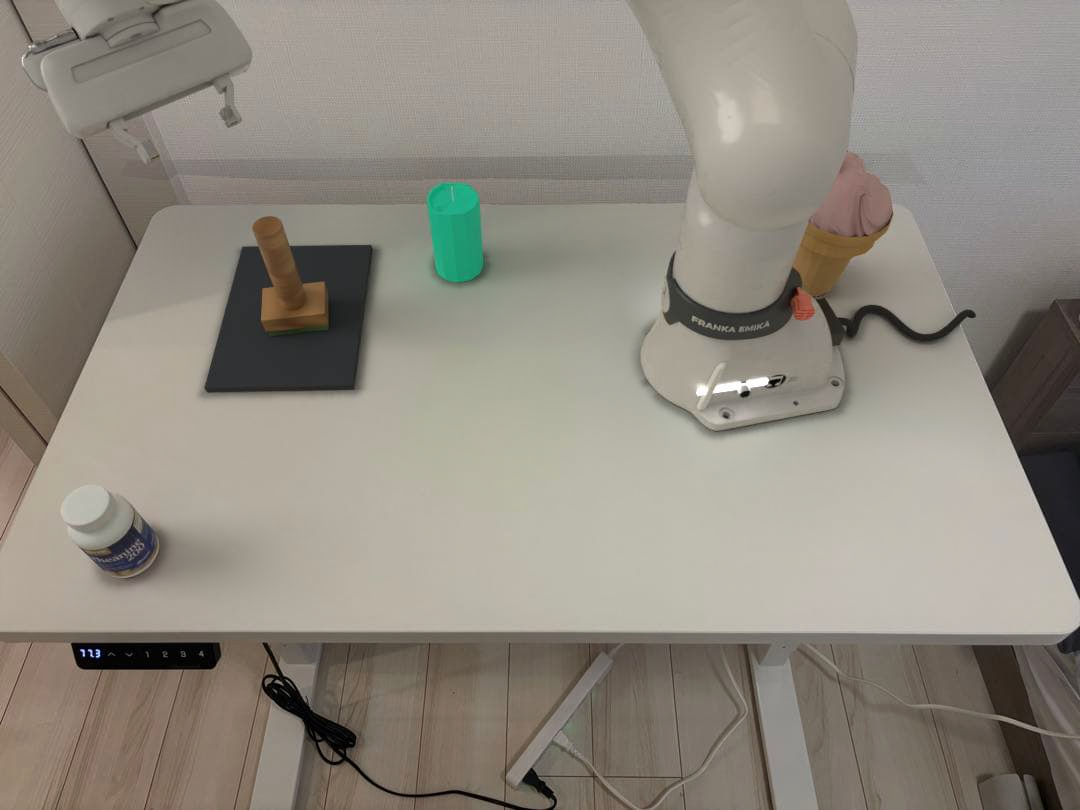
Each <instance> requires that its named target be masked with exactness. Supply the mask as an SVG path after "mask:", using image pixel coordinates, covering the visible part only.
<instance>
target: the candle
mask: <svg viewBox="0 0 1080 810" xmlns="http://www.w3.org/2000/svg"><path fill="white" fill-rule="evenodd" d="M426 205H427V212H428V220H429V227H430V233H431V234H430V235H431V244H432V250H433V258H434V265H435V266H434V267H435V269H436V273H437V275H439V276H440V277H441V278H442V279H444V280H445V281H449V282H453V283H463V282H468V281H472V280H473V279H474V278H477V277H478V276H479V275H480V274H481V272H482V270H483V268H484V264H485V263H484V250H483V249H484V248H483V233H482V220H481V219H482V217H481V201H480V196H479V194H478V192H477V190H475V189H474V188H473V186H471V185H470V184H469V183H466V182H465V183H463V182H440V183H439V184H438V185H435V186H434V187H432V188H431V189H430V190H429V192H428V195H427V196H426Z"/></svg>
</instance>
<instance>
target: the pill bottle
mask: <svg viewBox="0 0 1080 810" xmlns="http://www.w3.org/2000/svg"><path fill="white" fill-rule="evenodd" d="M60 515H61V518H62V520H63V521H64V522H65V523H66V524H67V525H66V527H67V528H66V529H67V535H68V537H69V539H70V540H71V541H72V543H74V544H75V545H76V547H78V548H79V549H80V550H81V551H82V552H83V553H84V554H85V555H86V556H87V557H89V559H91V560H92V562H94V563H95V564H96V565H97V566H98V567H99V568H100V569H101V570H102V571H103V572H105V573H106V575H108V576H110V577H112V578H116V579H127V578H132V577H135V576H138V575H140V574H141V573H143V572H144V571H146V570H147V569H149V568H150V567H151V565H153V563H154V561H155V560H156V559H157V558H158V557H157V556H158V554H159V551H160V540H159V537H158V535H157V534H156V532H155V531H154V530H153V528H152V527H151V525H149V524H148V522H147V521H146V520H145V519H144V518H143V517H142V515H141V514H140V513H139V512H138V511H137V509H136V508H135V507H134V506H133V504H131V502H130V501H129V500H128V499H127V498H126V497H125V496H124V495H123V496H122V495H121V494H118V493H115V492H110V491H109V490H108V489H106V487H104V486H102V485H99V484H85V485H81V486H79V487H78V488H76V489H74V490H72V491H71V492H70V493H69V494H68V495H67V496H66V497H65V498H64V500H63V502H62V504H61V506H60Z"/></svg>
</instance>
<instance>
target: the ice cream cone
mask: <svg viewBox="0 0 1080 810" xmlns="http://www.w3.org/2000/svg"><path fill="white" fill-rule="evenodd" d="M893 218H894V208H893V201H892V197H891V193H890V190H889V187H888V186H887V185H885V184H883V183H882V182H881V180H880V178H879V177H878V176H877V175H875V174H873V173H870V172H867V170H866V165H865V161H864V159H863V158H862V157H860V156H859V154H857V153H855V152H854V151H849V150H847V154H846V157H845V159H844V162H843V164H842V167H841V169H840V171H839V174H838V176H837V179H836V181H835V183H834V185H833V187H832V189H831V191H830V193H829V195H828V197H827V199H826V201H825V202H824V204H823V205H822V206H821V207H820V208H819V210H818V211H817V212H816V213H814V214H813V215H812V216H811V217H810V218H809V222H808V225H807V228H806V231H805V234H804V236H803V239H802V242H801V244H800V247H799V250H798V252H797V255H796V258H795V260H794V263H793V264H794V268H795V269H796V270H797V271H798V272H799V274H800V276H801V279H802V283H803V285H802V288H801V290H803V291H806V292H807V293H809V294H810V295H811V296H812V297H819V296H823V295H825V294H826V293H828V292H829V291H831V290H832V289H833V288H834V287H835V286H836V285H837V282H838V281H839V279H840V278H841V276H842V275H843V273H844V271H845V270H846V269H847V266H848V265H849V263H850V261H851V260H852V259H854V258H855V257H858V256H862V255H865V254H866V253H868V252H869V251H870V250H871V249H872V248H873V247H874V245H875V242H877V241H878V240H879V239H881V237H883V236H884V235H885V234H886V233H887V232H888V230H889V228H890V226H891V223H892V221H893Z"/></svg>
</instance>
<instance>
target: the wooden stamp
mask: <svg viewBox="0 0 1080 810" xmlns="http://www.w3.org/2000/svg"><path fill="white" fill-rule="evenodd" d="M251 230H252V233H253V235H254V238H255V241H256V244H257V246H259V249H260V252H261V254H262V257H263V260H264V262H265V265H266V268H267V271H268V273H269V276H270V279H271V281H272V284H273V287H270V288H263V291H262V312H261V321H262V324H263V326H264V329H265V331H266V332H269V335H270V336H278V335H286V334H295V333H303V332H312V331H320V330H328V329H329V316H328V291H327V288H326V285H325V282H315V283H306V284H302V281H301V278H300V275H299V272H298V269H297V266H296V263H295V260H294V257H293V254H292V251H291V248H290V246H291V245H290V242H289V240H288V237H287V233H286V230H285V227H284V225H283V222H282V220H281V219H280V218H279V217H277V216H273V215H270V216H269V215H266V216H262V217H260V218H258V219H257V220H255V221H254V222H253V224H252V226H251Z"/></svg>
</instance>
